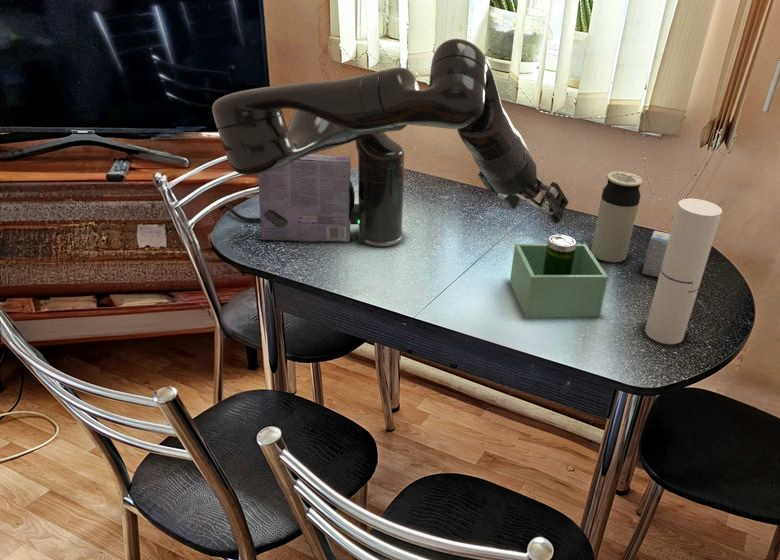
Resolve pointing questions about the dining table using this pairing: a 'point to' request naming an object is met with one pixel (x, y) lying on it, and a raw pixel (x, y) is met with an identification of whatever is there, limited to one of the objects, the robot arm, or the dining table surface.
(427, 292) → the dining table surface
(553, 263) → the beer can
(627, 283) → the dining table surface
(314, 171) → the cake pan box
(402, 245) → the dining table surface
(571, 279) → the bin
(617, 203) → the travel mug
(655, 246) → the medicine box
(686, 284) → the cylindrical container
